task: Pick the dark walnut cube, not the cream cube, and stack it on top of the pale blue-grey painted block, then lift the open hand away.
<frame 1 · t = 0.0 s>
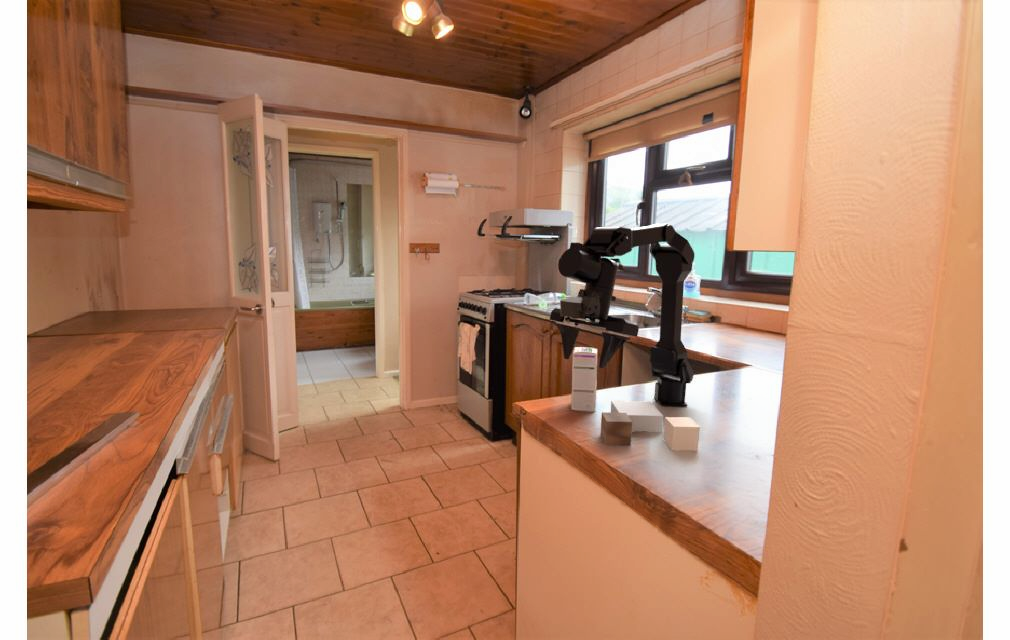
hand: (583, 363, 94), 15 cm above the worktop, tool pointing down, fingers open, 9 cm apart
syrup box: (583, 408, 113), on the worktop
walnut cube: (615, 440, 95), on the worktop
cream cube: (680, 445, 93), on the worktop
base block: (635, 425, 104), on the worktop
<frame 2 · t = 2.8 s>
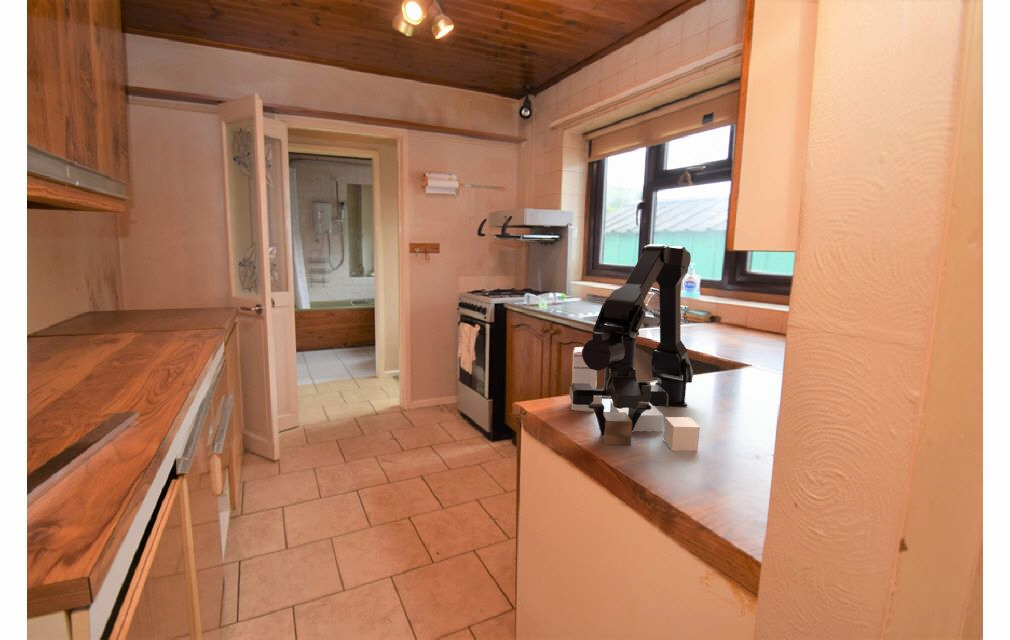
hand: (615, 435, 94), 1 cm above the worktop, tool pointing down, fingers closed on walnut cube, 5 cm apart
walnut cube: (615, 439, 95), on the worktop, touching gripper
everything else where it was.
when the fingers open (6 cm above the worktop, at t = 6.8 s): walnut cube drops 2 cm, resting on base block.
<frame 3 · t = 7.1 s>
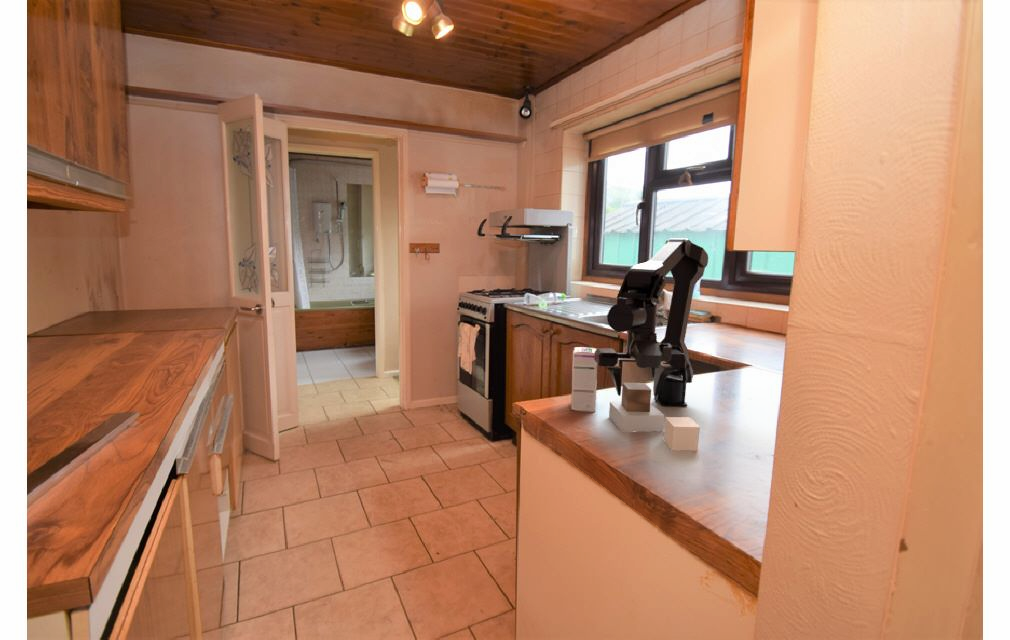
hand: (637, 395, 103), 6 cm above the worktop, tool pointing down, fingers open, 8 cm apart
walnut cube: (635, 407, 103), point 4 cm above the worktop, touching base block
base block: (635, 425, 104), on the worktop, touching walnut cube
everything else where it was.
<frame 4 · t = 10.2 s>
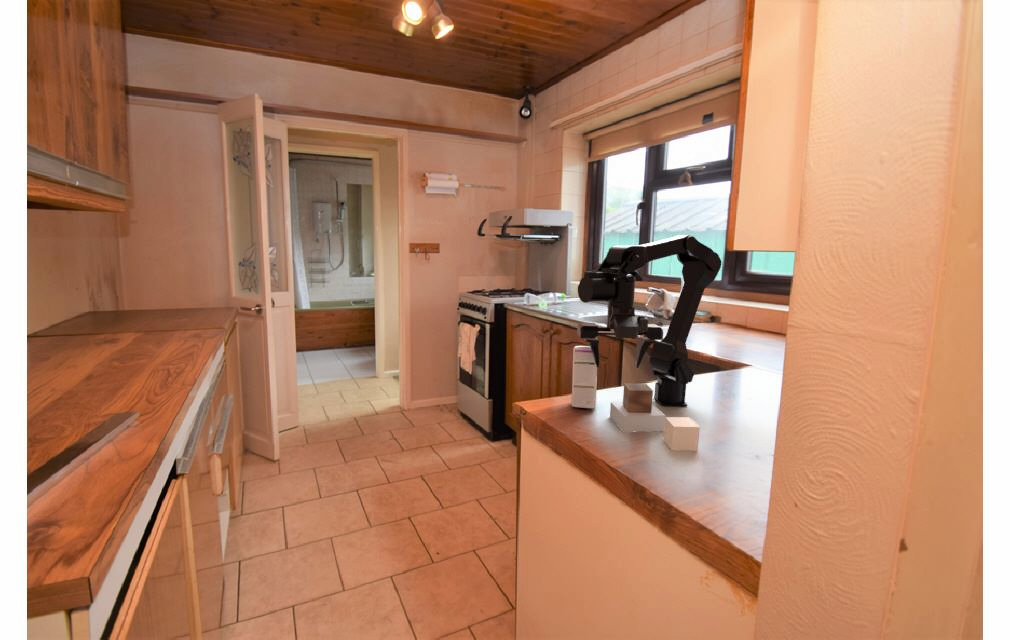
hand: (617, 367, 109), 11 cm above the worktop, tool pointing down, fingers open, 9 cm apart
syrup box: (583, 406, 113), on the worktop, touching gripper
everything else where it was.
at the end: walnut cube 0.3 cm off-centre on the base block, point 4.0 cm above the base block's base; walnut cube tilted 0°; the gripper is holding nothing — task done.
